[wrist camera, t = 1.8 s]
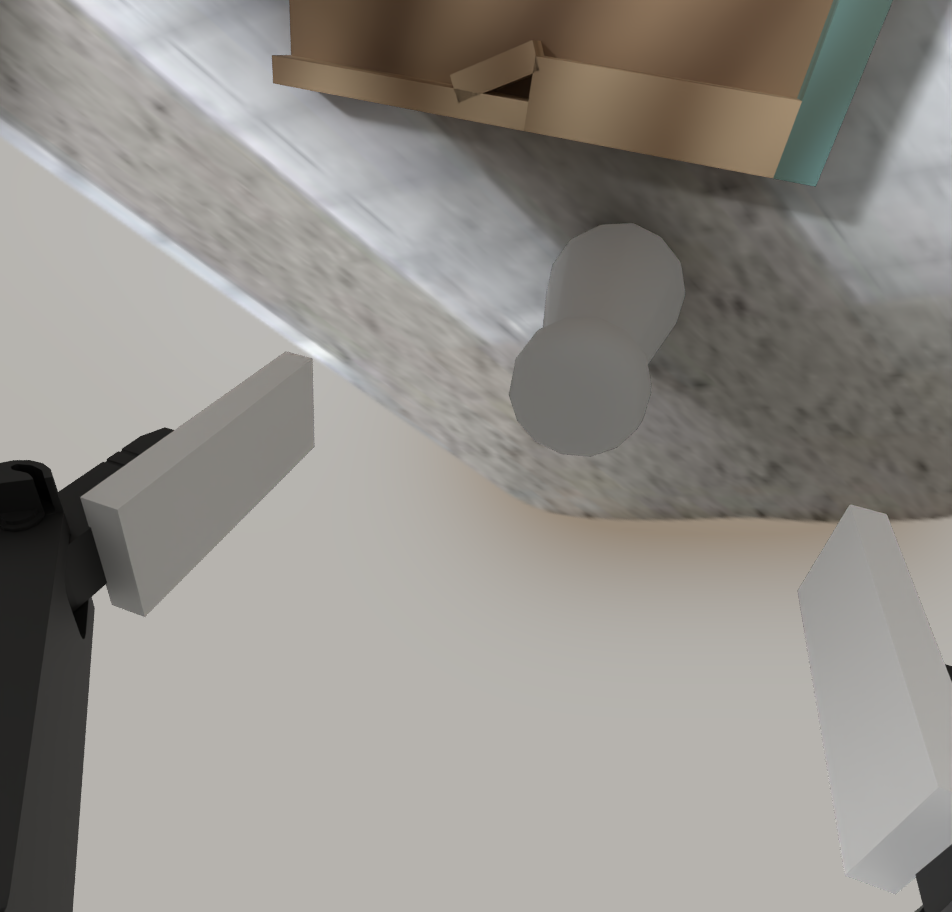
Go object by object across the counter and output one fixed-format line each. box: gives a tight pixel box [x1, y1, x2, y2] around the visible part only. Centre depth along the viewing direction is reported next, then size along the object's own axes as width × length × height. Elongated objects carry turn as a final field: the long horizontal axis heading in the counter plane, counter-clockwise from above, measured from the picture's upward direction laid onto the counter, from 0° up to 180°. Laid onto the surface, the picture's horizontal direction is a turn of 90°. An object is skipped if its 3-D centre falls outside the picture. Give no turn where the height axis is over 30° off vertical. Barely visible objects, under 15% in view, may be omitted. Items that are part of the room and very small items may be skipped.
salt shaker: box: [509, 223, 685, 457], centre depth 24 cm, size 6×6×13 cm
